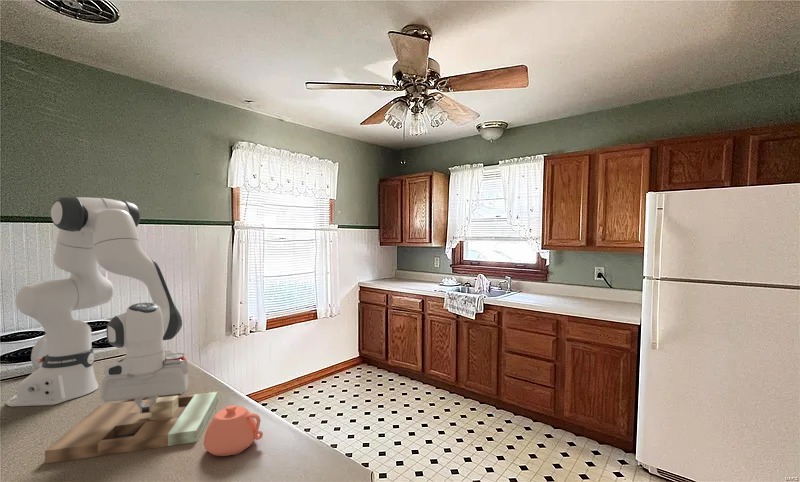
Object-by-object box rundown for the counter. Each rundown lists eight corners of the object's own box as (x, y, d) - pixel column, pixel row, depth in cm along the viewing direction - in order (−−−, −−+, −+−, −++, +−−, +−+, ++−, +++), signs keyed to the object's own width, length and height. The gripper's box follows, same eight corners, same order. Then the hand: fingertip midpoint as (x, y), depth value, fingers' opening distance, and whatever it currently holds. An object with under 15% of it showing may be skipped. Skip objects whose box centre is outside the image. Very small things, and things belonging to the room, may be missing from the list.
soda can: (175, 395, 121) (175, 359, 120) (158, 394, 122) (157, 358, 122) (192, 386, 128) (191, 353, 127) (175, 385, 129) (174, 352, 129)
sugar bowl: (220, 433, 97) (219, 395, 97) (272, 433, 97) (271, 395, 97) (193, 461, 85) (192, 418, 85) (251, 462, 85) (251, 419, 84)
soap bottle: (79, 360, 157) (78, 314, 157) (86, 361, 155) (85, 315, 155) (30, 373, 142) (28, 322, 142) (37, 375, 140) (36, 324, 140)
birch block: (151, 419, 99) (151, 405, 99) (158, 411, 104) (158, 397, 104) (172, 417, 100) (171, 403, 100) (178, 409, 105) (178, 395, 105)
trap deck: (45, 463, 85) (44, 450, 85) (100, 414, 108) (100, 404, 108) (196, 441, 93) (196, 430, 93) (217, 400, 116) (217, 391, 116)
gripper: (191, 355, 106) (192, 402, 106) (109, 362, 101) (110, 411, 101) (184, 362, 100) (185, 412, 100) (96, 370, 95) (98, 422, 95)
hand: (147, 412), depth 100 cm, fingers closed
